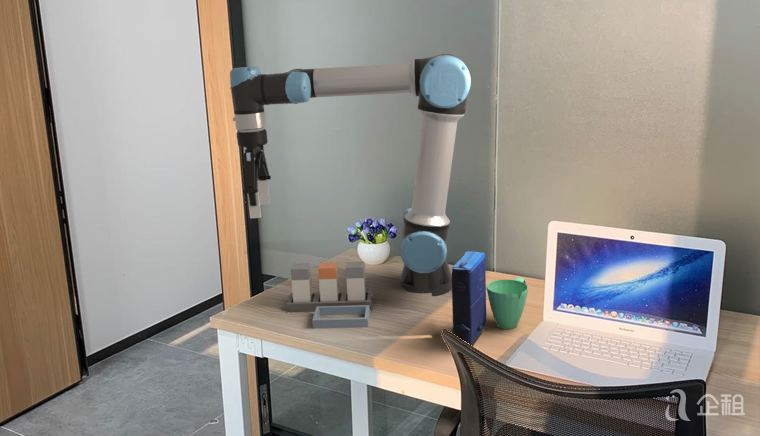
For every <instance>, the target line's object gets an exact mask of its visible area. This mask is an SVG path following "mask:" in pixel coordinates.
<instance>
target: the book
mask: <svg viewBox="0 0 760 436" xmlns="http://www.w3.org/2000/svg"><path fill="white" fill-rule="evenodd" d="M486 258H487V257H486V254H485V252H479V251H466V252H465V253H464V254H463V255H462V256H461V258H459V260H458V261H456V262H455V264H454V265H453V266H452V268H451V269H452V270H451V274H452V289H451V300H452V301H451V303H452V304H451V306H452V308H451V309H452V334H455V335H456V336H458V337H459V338H461V339H462V340H464V341H466V342H467V343H469V344H470V345H472V347H473V346H474V345H475V343H476V341H477V340H478V339H479V338H480V336H481V334H482V332H483V330H484V329H485V327H486V325H487V285H486V284H487V282H486V279H487V278H486V260H487V259H486Z"/></svg>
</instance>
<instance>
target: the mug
mask: <svg viewBox="0 0 760 436" xmlns="http://www.w3.org/2000/svg"><path fill="white" fill-rule="evenodd" d="M528 292H529V286H528V284H526V280H525V278H523V277H521V276H520V277H519V276H518V277H516V278H515V279H497V280H493V281H490V282H488V283H487V285H486V294H487V297H488V302H489V306H490V309H491V313H492V315H493V318H494V321H495V324H496V326H497V327H499V328H501V329H504V330H510V329H515V328H517V326H518V324H519V322H520V320H521V317H522V315H523V313H524V309H525V305H526V301H527V297H528Z"/></svg>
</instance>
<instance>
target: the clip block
mask: <svg viewBox="0 0 760 436" xmlns="http://www.w3.org/2000/svg"><path fill="white" fill-rule="evenodd" d="M312 296H313V301H312V302H296V303H293V293H290V294H289V297H288V300H287V301H286V304H285V306H286V310H285V313H315V310H316V307H318V306H353V305H369V308H370V311H373V303H374V296H373V291H372V290H366V300H365V301H348V295H347V291H339V300H340V301H331V302H321V301H320V291H319V292H318V291H317V292H312Z"/></svg>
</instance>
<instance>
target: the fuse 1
mask: <svg viewBox="0 0 760 436" xmlns="http://www.w3.org/2000/svg"><path fill="white" fill-rule="evenodd" d="M311 271H312V270H311V263H310V262H307V263H304V262H303V263H293V264H292V265H291V268H290V279H291V280H290V281H291V291H292V293H293V303H296V302H312V301H313V296H312V293H313V285H312V284H313V283H312V272H311Z"/></svg>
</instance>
